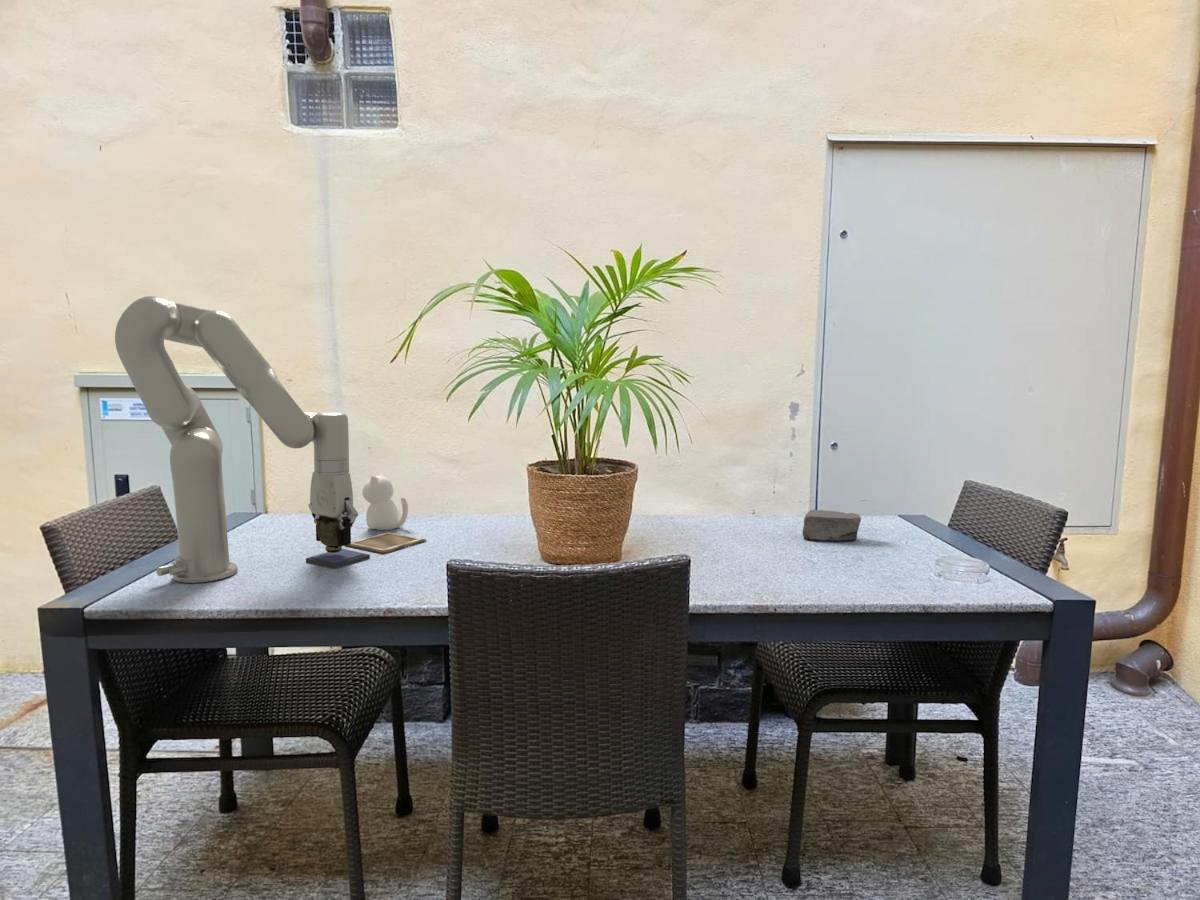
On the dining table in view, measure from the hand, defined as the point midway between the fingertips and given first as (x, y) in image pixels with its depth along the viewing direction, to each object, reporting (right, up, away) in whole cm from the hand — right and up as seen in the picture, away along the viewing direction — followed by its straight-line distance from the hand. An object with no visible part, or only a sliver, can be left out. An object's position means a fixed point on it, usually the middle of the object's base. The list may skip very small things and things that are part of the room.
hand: (333, 541), depth 179 cm
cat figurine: (+4, 0, +31) cm, 31 cm away
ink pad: (+1, -4, +1) cm, 5 cm away
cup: (0, -2, 0) cm, 2 cm away
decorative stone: (+120, -2, +19) cm, 122 cm away
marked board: (+8, -2, +15) cm, 17 cm away
